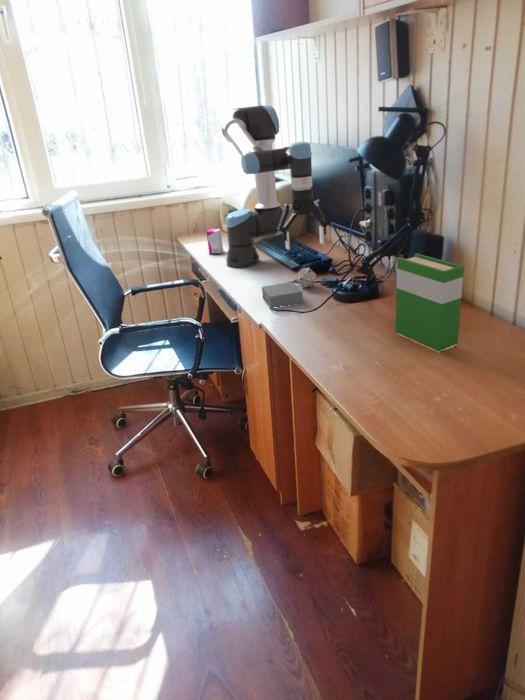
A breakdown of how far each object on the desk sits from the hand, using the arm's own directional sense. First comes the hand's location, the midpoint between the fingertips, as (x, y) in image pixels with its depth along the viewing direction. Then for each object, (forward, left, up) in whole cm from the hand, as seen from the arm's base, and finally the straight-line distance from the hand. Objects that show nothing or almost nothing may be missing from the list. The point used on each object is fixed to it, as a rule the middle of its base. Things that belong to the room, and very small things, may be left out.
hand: (305, 246), depth 205 cm
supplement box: (-69, -23, -17) cm, 75 cm away
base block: (+10, -13, -17) cm, 23 cm away
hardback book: (+61, +16, -17) cm, 65 cm away
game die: (0, 0, -17) cm, 17 cm away
